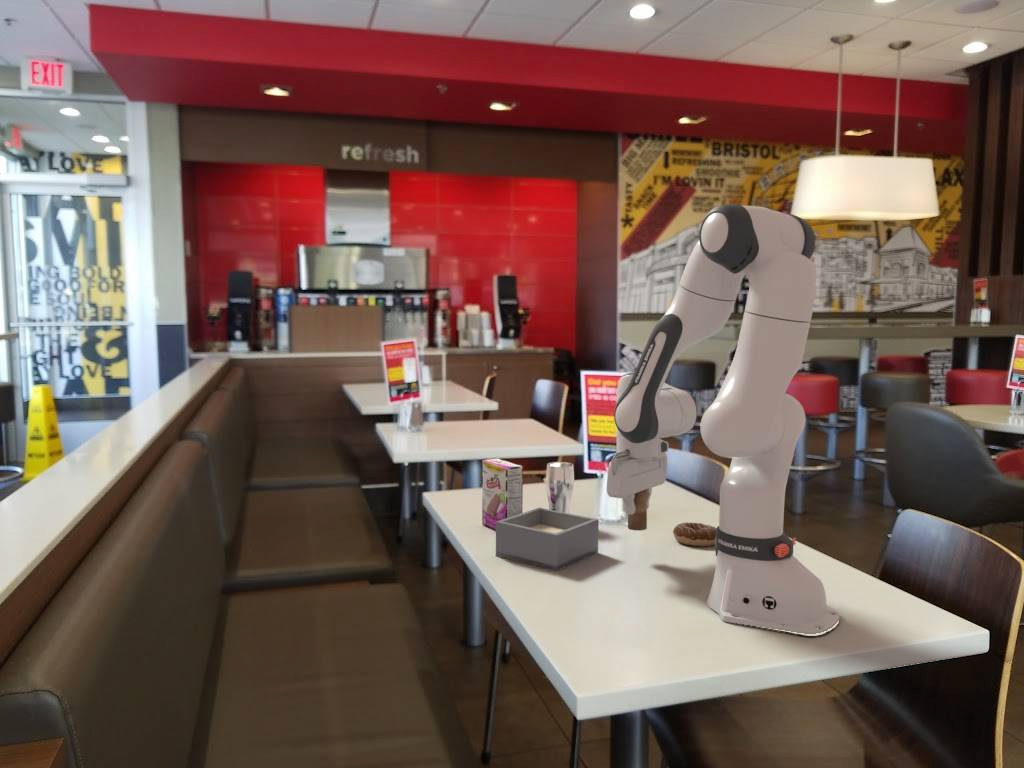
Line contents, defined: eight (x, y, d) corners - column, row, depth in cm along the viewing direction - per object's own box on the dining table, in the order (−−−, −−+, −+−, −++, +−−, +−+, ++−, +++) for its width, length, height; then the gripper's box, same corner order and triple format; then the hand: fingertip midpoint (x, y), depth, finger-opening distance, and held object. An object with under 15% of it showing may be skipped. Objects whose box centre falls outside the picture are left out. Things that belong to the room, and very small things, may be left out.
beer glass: (571, 528, 195) (572, 467, 194) (543, 526, 196) (544, 466, 195) (574, 520, 202) (575, 462, 200) (547, 519, 203) (548, 461, 202)
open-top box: (597, 552, 176) (598, 519, 175) (556, 571, 163) (556, 535, 163) (539, 539, 186) (539, 507, 185) (495, 555, 173) (495, 521, 172)
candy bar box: (480, 525, 197) (481, 459, 195) (497, 522, 200) (498, 457, 198) (506, 536, 188) (506, 467, 186) (523, 533, 191) (524, 465, 189)
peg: (650, 527, 171) (650, 490, 171) (641, 531, 168) (641, 493, 168) (633, 524, 174) (633, 488, 173) (624, 528, 171) (624, 491, 170)
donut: (671, 546, 181) (672, 529, 181) (674, 534, 192) (674, 517, 191) (719, 550, 179) (720, 533, 178) (719, 537, 189) (720, 521, 189)
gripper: (625, 455, 160) (626, 523, 161) (672, 442, 176) (672, 504, 177) (598, 452, 164) (599, 519, 165) (646, 440, 180) (646, 500, 181)
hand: (637, 511), depth 171 cm, fingers closed on peg, 4 cm apart
